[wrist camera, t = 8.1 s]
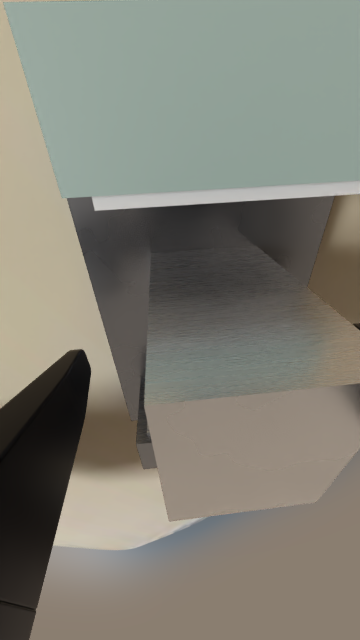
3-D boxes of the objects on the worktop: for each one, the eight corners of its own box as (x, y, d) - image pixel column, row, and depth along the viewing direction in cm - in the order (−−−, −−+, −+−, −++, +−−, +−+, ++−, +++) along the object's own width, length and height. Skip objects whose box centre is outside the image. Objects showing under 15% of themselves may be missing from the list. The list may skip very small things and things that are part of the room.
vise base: (266, 395, 15) (296, 458, 12) (132, 409, 15) (126, 478, 12) (351, 79, 7) (532, 2, 4) (45, 91, 6) (-69, 15, 3)
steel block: (241, 345, 12) (316, 502, 6) (162, 352, 11) (168, 521, 6) (256, 245, 9) (416, 377, 3) (150, 253, 8) (143, 406, 3)
